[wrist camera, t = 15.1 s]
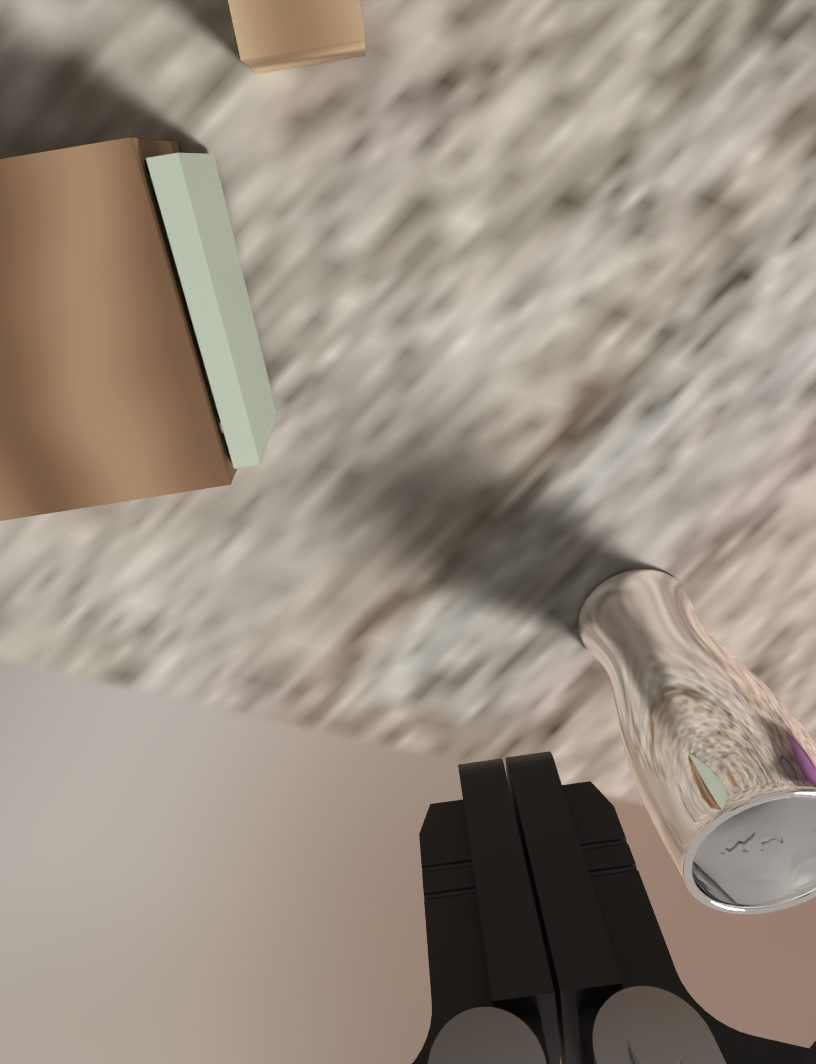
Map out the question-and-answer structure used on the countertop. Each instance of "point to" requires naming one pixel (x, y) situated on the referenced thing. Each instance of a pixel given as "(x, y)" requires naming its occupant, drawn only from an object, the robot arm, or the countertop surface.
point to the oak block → (296, 32)
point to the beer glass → (706, 747)
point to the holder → (96, 338)
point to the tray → (215, 299)
